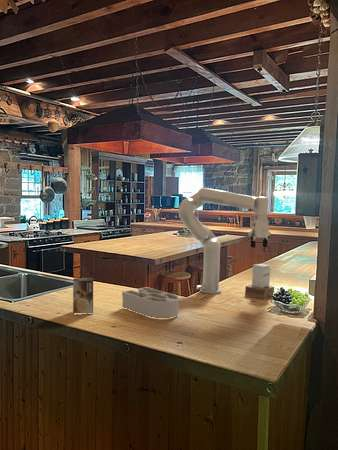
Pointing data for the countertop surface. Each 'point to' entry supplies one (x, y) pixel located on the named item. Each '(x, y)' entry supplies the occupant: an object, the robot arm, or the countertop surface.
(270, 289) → the walnut box
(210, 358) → the countertop surface
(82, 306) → the coffee box
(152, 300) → the ice cube tray
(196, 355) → the countertop surface
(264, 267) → the supplement box
